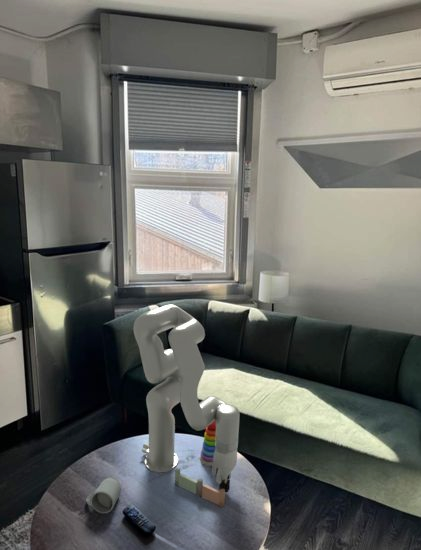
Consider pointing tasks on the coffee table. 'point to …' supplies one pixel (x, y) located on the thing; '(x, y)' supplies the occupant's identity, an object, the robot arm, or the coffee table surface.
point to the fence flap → (210, 493)
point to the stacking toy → (209, 445)
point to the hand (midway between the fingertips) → (224, 489)
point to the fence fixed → (185, 481)
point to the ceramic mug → (105, 495)
